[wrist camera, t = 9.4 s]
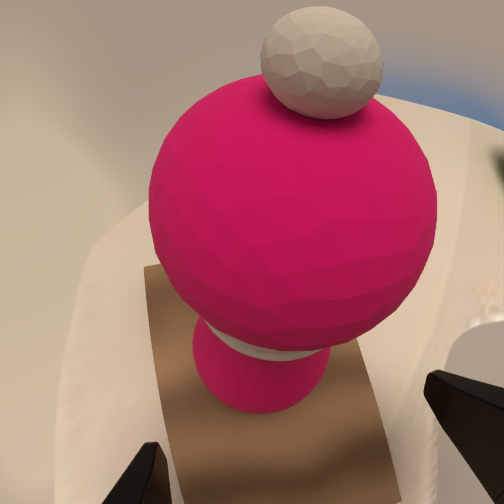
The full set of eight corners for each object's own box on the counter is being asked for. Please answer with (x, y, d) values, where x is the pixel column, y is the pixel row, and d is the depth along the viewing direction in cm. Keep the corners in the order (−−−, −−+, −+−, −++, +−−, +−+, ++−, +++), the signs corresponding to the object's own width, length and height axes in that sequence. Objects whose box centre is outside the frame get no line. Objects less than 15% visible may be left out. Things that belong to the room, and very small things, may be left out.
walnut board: (386, 495, 17) (401, 500, 15) (205, 545, 15) (202, 557, 13) (312, 251, 28) (318, 235, 26) (151, 281, 26) (143, 266, 23)
